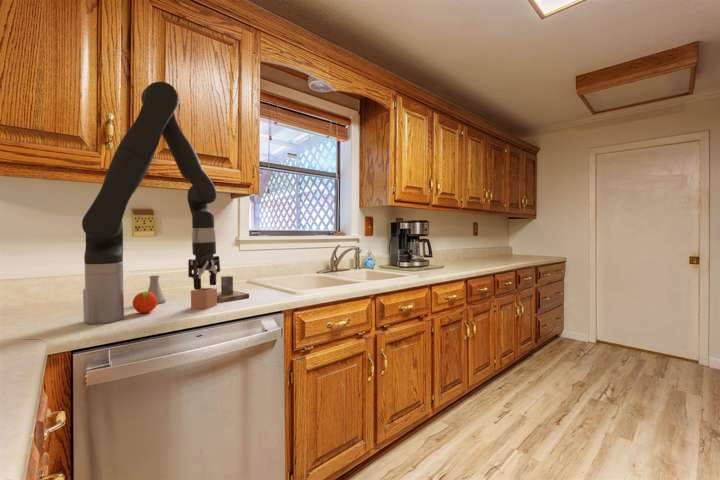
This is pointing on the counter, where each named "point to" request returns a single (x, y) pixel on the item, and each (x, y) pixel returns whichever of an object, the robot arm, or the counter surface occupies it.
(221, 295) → the post base
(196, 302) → the collar
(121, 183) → the robot arm
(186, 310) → the counter surface
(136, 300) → the red tomato
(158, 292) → the flask
